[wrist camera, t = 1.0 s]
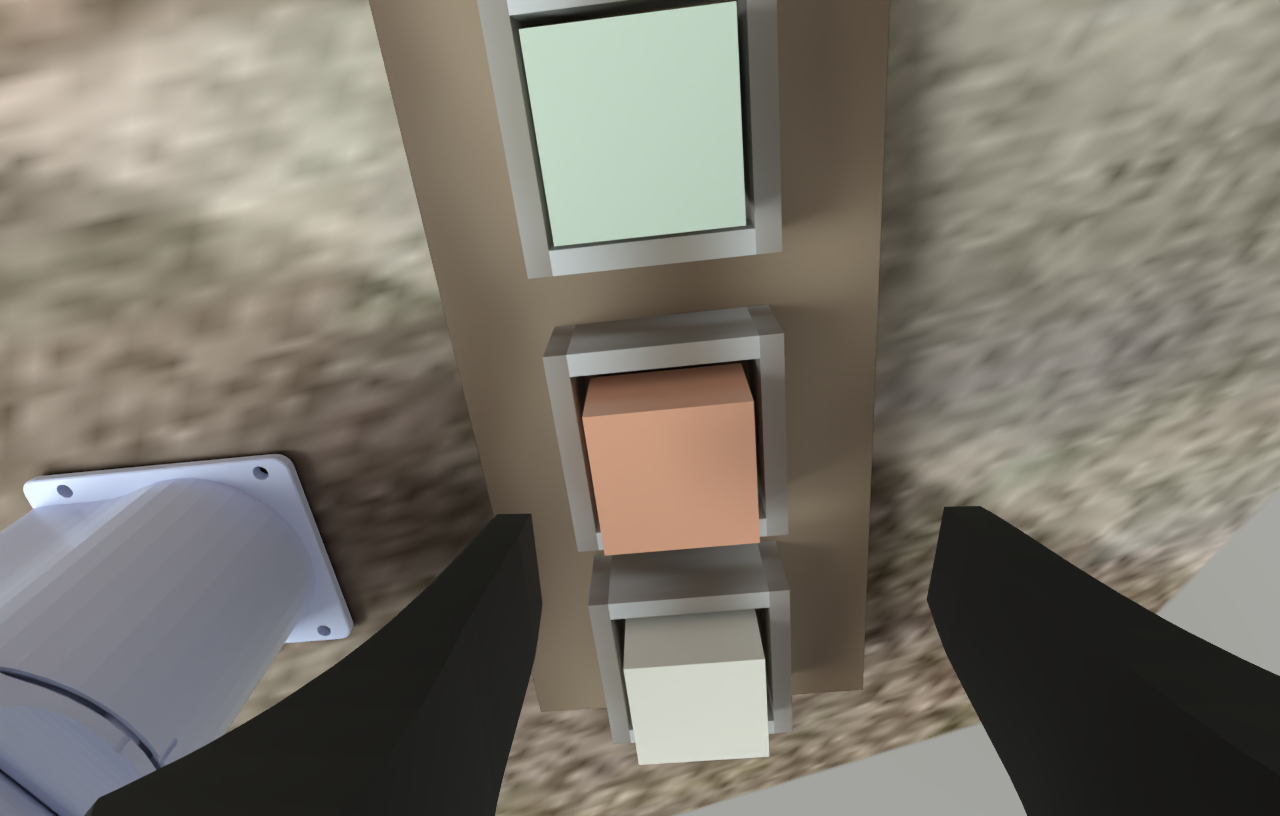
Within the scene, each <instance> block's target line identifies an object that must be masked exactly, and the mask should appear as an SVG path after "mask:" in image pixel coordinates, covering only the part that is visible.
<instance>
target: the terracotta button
mask: <svg viewBox="0 0 1280 816" xmlns="http://www.w3.org/2000/svg"><path fill="white" fill-rule="evenodd" d="M582 420H583V426H584V432H585V438H586V444H587V450H588V456H589V462H590V468H591V475H592V481H593V487H594V493H595V499H596V505H597V511H598V517H599V523H600V530H601V536H602V542H603V548H604V554H605V556H606V555H618V554H630V553H642V552H655V551H667V550H679V549H691V548H703V547H715V546H727V545H739V544H751V543H760V533H759V510H758V487H757V464H756V441H755V418H754V400H753V397H752V394H751V391H750V388H749V385H748V383H747V380H746V377H745V374H744V371H743V368H742V365H741V363H737V364H727V365H716V366H706V367H696V368H686V369H676V370H665V371H655V372H645V373H635V374H625V375H615V376H604V377H594V378H590V381H589V386H588V391H587V396H586V401H585V406H584V411H583V416H582Z"/></svg>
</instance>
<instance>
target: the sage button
mask: <svg viewBox="0 0 1280 816" xmlns="http://www.w3.org/2000/svg"><path fill="white" fill-rule="evenodd" d="M519 35H520V41H521V47H522V53H523V59H524V65H525V71H526V78H527V84H528V90H529V96H530V102H531V108H532V114H533V120H534V126H535V133H536V139H537V145H538V151H539V157H540V163H541V169H542V175H543V181H544V187H545V194H546V200H547V206H548V212H549V218H550V224H551V230H552V236H553V242H554V246H564V245H573V244H582V243H591V242H600V241H609V240H618V239H627V238H636V237H645V236H655V235H664V234H673V233H682V232H691V231H700V230H709V229H718V228H727V227H736V226H746V212H745V189H744V166H743V143H742V120H741V97H740V74H739V51H738V28H737V5H736V1H733V2H725V3H718V4H710V5H702V6H694V7H687V8H679V9H671V10H664V11H656V12H648V13H640V14H633V15H625V16H617V17H609V18H602V19H594V20H586V21H578V22H571V23H563V24H555V25H547V26H540V27H532V28H524V29H519Z"/></svg>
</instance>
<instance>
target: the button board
mask: <svg viewBox="0 0 1280 816" xmlns="http://www.w3.org/2000/svg"><path fill="white" fill-rule="evenodd" d="M733 1H736V5H737V28H738V51H739V74H740V97H741V120H742V143H743V166H744V189H745V212H746V226H736V227H727V228H718V229H709V230H700V231H691V232H682V233H673V234H664V235H655V236H645V237H636V238H627V239H618V240H609V241H600V242H591V243H582V244H573V245H564V246H554V242H553V236H552V230H551V224H550V218H549V212H548V206H547V200H546V194H545V187H544V181H543V175H542V169H541V163H540V157H539V151H538V145H537V139H536V133H535V126H534V120H533V114H532V108H531V102H530V96H529V90H528V84H527V78H526V71H525V65H524V59H523V53H522V47H521V41H520V35H519V29H524V28H532V27H540V26H547V25H555V24H563V23H571V22H578V21H586V20H594V19H602V18H609V17H617V16H625V15H633V14H640V13H648V12H656V11H664V10H671V9H679V8H687V7H694V6H702V5H710V4H718V3H725V2H733ZM369 3H370V7H371V11H372V15H373V19H374V24H375V28H376V32H377V36H378V40H379V44H380V48H381V52H382V57H383V61H384V65H385V69H386V73H387V77H388V81H389V86H390V90H391V94H392V98H393V102H394V106H395V110H396V114H397V119H398V123H399V127H400V131H401V135H402V139H403V143H404V148H405V152H406V156H407V160H408V164H409V168H410V172H411V176H412V181H413V185H414V189H415V193H416V197H417V201H418V205H419V209H420V214H421V218H422V222H423V226H424V230H425V234H426V238H427V243H428V247H429V251H430V255H431V259H432V263H433V267H434V271H435V276H436V280H437V284H438V288H439V292H440V296H441V300H442V305H443V309H444V313H445V317H446V321H447V325H448V329H449V333H450V338H451V342H452V346H453V350H454V354H455V358H456V362H457V366H458V371H459V375H460V379H461V383H462V387H463V391H464V395H465V400H466V404H467V408H468V412H469V416H470V420H471V424H472V428H473V433H474V437H475V441H476V445H477V449H478V453H479V457H480V461H481V466H482V470H483V474H484V478H485V482H486V486H487V490H488V495H489V499H490V503H491V507H492V511H493V515H494V517H495V516H496V515H497V514H532V522H533V530H534V538H535V546H536V554H537V562H538V570H539V578H540V586H541V594H542V602H543V605H542V613H541V620H540V628H539V635H538V642H537V649H536V655H535V660H534V663H533V667H532V671H531V672H532V676H533V680H534V685H535V689H536V693H537V697H538V701H539V705H540V709H541V712H548V711H563V710H577V709H591V708H606V707H607V711H608V717H609V722H610V728H611V733H612V739H613V744H622V743H635V737H634V731H633V725H632V719H631V713H630V707H629V701H628V694H627V688H626V682H625V676H624V670H623V667H624V645H625V622H626V619H627V618H639V617H652V616H665V615H678V614H691V613H704V612H717V611H730V610H743V609H755V612H756V617H757V622H758V627H759V632H760V637H761V642H762V647H763V652H764V657H765V671H766V693H767V716H768V734H772V733H787V732H793V723H792V694H807V693H821V692H835V691H850V690H863V671H864V646H865V620H866V595H867V570H868V544H869V519H870V494H871V468H872V443H873V417H874V392H875V367H876V341H877V316H878V291H879V265H880V240H881V215H882V189H883V164H884V138H885V113H886V88H887V62H888V37H889V12H890V0H369ZM737 363H741V365H742V368H743V371H744V374H745V377H746V380H747V383H748V385H749V388H750V391H751V394H752V397H753V400H754V418H755V441H756V464H757V487H758V510H759V533H760V543H751V544H739V545H727V546H715V547H703V548H691V549H679V550H667V551H655V552H642V553H630V554H618V555H606V556H605V554H604V548H603V542H602V536H601V530H600V523H599V517H598V511H597V505H596V499H595V493H594V487H593V481H592V475H591V468H590V462H589V456H588V450H587V444H586V438H585V432H584V426H583V420H582V416H583V411H584V406H585V401H586V396H587V391H588V386H589V381H590V378H594V377H604V376H615V375H625V374H635V373H645V372H655V371H665V370H676V369H686V368H696V367H706V366H716V365H727V364H737Z"/></svg>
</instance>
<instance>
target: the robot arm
mask: <svg viewBox="0 0 1280 816" xmlns="http://www.w3.org/2000/svg"><path fill="white" fill-rule="evenodd" d="M259 467H263V468H265V469H266V470H267V472H268V474H266V473H264V472H262V471H261V470H260V469H259ZM67 486H68V487H69V488H70V489H71V490H70V489H69V488H68V487H67ZM23 491H24V493H25V496H26V497H27V499H28V501H29V503H30V504H31V506H32V508H33V510H31V511H30V512H28V513H27V514H26V515H24V516H23V517H21V518H20V519H18V520H17V521H15V522H14V523H12V524H11V525H9V526H8V527H7V528H5V529H4V530H2V531H1V532H0V816H495V812H496V806H497V801H498V797H499V792H500V788H501V783H502V779H503V775H504V771H505V767H506V764H507V760H508V756H509V753H510V749H511V745H512V742H513V738H514V734H515V731H516V727H517V723H518V720H519V716H520V712H521V709H522V705H523V701H524V698H525V694H526V690H527V686H528V682H529V679H530V675H531V671H532V667H533V663H534V660H535V655H536V649H537V642H538V635H539V628H540V620H541V613H542V605H543V602H542V594H541V586H540V578H539V570H538V562H537V554H536V546H535V538H534V530H533V522H532V514H497V515H496V516H495V517H494V518H493V519H492V520H491V521H490V522H489V523H488V524H487V525H486V526H485V527H484V528H483V529H482V531H481V532H480V533H479V534H478V535H477V536H476V537H475V538H474V539H473V540H472V541H471V542H470V543H469V545H468V546H467V547H466V548H465V549H464V550H463V551H462V552H461V553H460V554H459V555H458V556H457V557H456V558H455V559H454V561H453V562H452V563H451V564H450V565H449V566H448V567H447V568H446V569H445V570H444V571H443V572H442V573H441V574H440V575H439V576H438V577H437V578H436V579H435V580H434V581H433V582H432V583H431V584H430V585H429V586H428V587H427V588H426V589H425V590H424V591H423V592H422V593H421V594H420V595H419V596H417V597H416V598H415V599H414V600H413V601H412V602H411V603H410V604H409V605H408V606H407V607H406V608H404V609H403V610H402V611H401V612H400V613H399V614H398V615H397V616H396V617H395V618H394V619H392V620H391V621H390V622H389V623H388V624H387V625H385V626H384V627H383V628H382V629H381V630H379V631H378V632H377V633H376V634H375V635H373V636H372V637H371V638H370V639H368V640H367V641H366V642H365V643H363V644H362V645H361V646H359V647H358V648H357V649H355V650H354V651H353V652H351V653H350V654H349V655H348V656H346V657H345V658H344V659H342V660H341V661H340V662H338V663H337V664H335V665H334V666H333V667H331V668H330V669H328V670H327V671H325V672H324V673H322V674H321V675H319V676H318V677H316V678H315V679H313V680H312V681H310V682H309V683H307V684H306V685H304V686H303V687H301V688H300V689H298V690H297V691H295V692H294V693H292V694H291V695H289V696H288V697H286V698H285V699H284V700H282V701H281V702H279V703H277V704H276V705H274V706H273V707H271V708H269V709H268V710H266V711H264V712H263V713H261V714H259V715H258V716H256V717H254V718H253V719H251V720H249V721H248V722H246V723H244V724H242V725H241V726H239V727H237V728H235V729H234V730H232V731H230V732H228V733H226V731H227V730H228V728H229V727H230V725H231V724H232V722H233V721H234V719H235V718H236V716H237V715H238V713H239V712H240V710H241V708H242V707H243V705H244V704H245V702H246V701H247V699H248V698H249V696H250V695H251V693H252V692H253V690H254V689H255V687H256V686H257V684H258V683H259V681H260V680H261V678H262V677H263V675H264V673H265V672H266V670H267V669H268V667H269V666H270V664H271V663H272V661H273V660H274V658H275V657H276V655H277V654H278V652H279V651H280V649H281V648H282V646H283V645H284V643H292V642H305V641H318V640H331V639H342V638H346V637H347V636H348V635H349V634H350V632H351V630H352V628H353V621H352V618H351V615H350V613H349V610H348V607H347V605H346V602H345V599H344V597H343V594H342V592H341V589H340V586H339V584H338V581H337V578H336V576H335V573H334V570H333V568H332V565H331V562H330V560H329V557H328V554H327V552H326V549H325V546H324V544H323V541H322V539H321V536H320V533H319V531H318V528H317V525H316V523H315V520H314V517H313V515H312V512H311V509H310V507H309V504H308V501H307V499H306V496H305V493H304V491H303V488H302V486H301V483H300V480H299V478H298V475H297V472H296V470H295V467H294V465H293V463H292V461H291V460H290V459H288V458H287V457H286V456H283V455H281V454H269V455H258V456H247V457H237V458H226V459H215V460H205V461H194V462H184V463H173V464H162V465H152V466H141V467H131V468H120V469H109V470H99V471H88V472H77V473H67V474H56V475H46V476H37V477H34V478H32V479H31V480H29V481H28V482H26V483H25V485H24V488H23ZM927 601H928V604H929V607H930V610H931V613H932V616H933V619H934V622H935V625H936V628H937V631H938V633H939V636H940V639H941V641H942V644H943V647H944V649H945V652H946V654H947V656H948V658H949V660H950V662H951V664H952V666H953V668H954V670H955V672H956V674H957V676H958V678H959V680H960V682H961V684H962V686H963V688H964V690H965V692H966V694H967V696H968V698H969V700H970V701H971V703H972V705H973V707H974V709H975V711H976V713H977V715H978V717H979V719H980V721H981V723H982V724H983V726H984V728H985V730H986V732H987V734H988V736H989V738H990V739H991V742H992V743H993V745H994V747H995V749H996V751H997V753H998V755H999V757H1000V759H1001V761H1002V763H1003V764H1004V767H1005V769H1006V770H1007V772H1008V774H1009V776H1010V778H1011V780H1012V782H1013V785H1014V787H1015V789H1016V791H1017V793H1018V795H1019V798H1020V800H1021V802H1022V804H1023V806H1024V809H1025V811H1026V814H1027V816H1280V676H1278V675H1276V674H1274V673H1271V672H1269V671H1267V670H1265V669H1263V668H1260V667H1259V666H1256V665H1254V664H1252V663H1250V662H1248V661H1246V660H1243V659H1241V658H1239V657H1237V656H1235V655H1233V654H1231V653H1229V652H1227V651H1225V650H1223V649H1221V648H1219V647H1217V646H1215V645H1213V644H1211V643H1209V642H1207V641H1205V640H1203V639H1201V638H1199V637H1197V636H1195V635H1193V634H1191V633H1189V632H1187V631H1185V630H1183V629H1182V628H1180V627H1178V626H1176V625H1174V624H1172V623H1170V622H1169V621H1167V620H1165V619H1163V618H1161V617H1160V616H1158V615H1156V614H1154V613H1153V612H1151V611H1149V610H1147V609H1146V608H1144V607H1142V606H1141V605H1139V604H1137V603H1135V602H1134V601H1132V600H1130V599H1128V598H1127V597H1125V596H1123V595H1121V594H1120V593H1118V592H1116V591H1115V590H1113V589H1111V588H1110V587H1108V586H1106V585H1105V584H1103V583H1102V582H1100V581H1098V580H1097V579H1095V578H1093V577H1092V576H1090V575H1089V574H1087V573H1085V572H1084V571H1082V570H1081V569H1079V568H1077V567H1076V566H1074V565H1073V564H1071V563H1070V562H1068V561H1066V560H1065V559H1063V558H1062V557H1060V556H1059V555H1057V554H1056V553H1054V552H1053V551H1051V550H1049V549H1048V548H1046V547H1045V546H1043V545H1042V544H1040V543H1039V542H1037V541H1036V540H1034V539H1033V538H1031V537H1030V536H1028V535H1026V534H1025V533H1023V532H1022V531H1020V530H1019V529H1017V528H1016V527H1014V526H1012V525H1011V524H1009V523H1008V522H1006V521H1005V520H1003V519H1001V518H1000V517H998V516H997V515H995V514H993V513H991V512H990V511H988V510H986V509H984V508H983V507H981V506H964V507H944V511H943V516H942V522H941V527H940V532H939V538H938V543H937V548H936V554H935V559H934V564H933V570H932V575H931V580H930V585H929V591H928V596H927ZM324 626H327V627H329V628H326V627H324ZM225 733H226V734H225ZM224 734H225V735H224Z"/></svg>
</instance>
